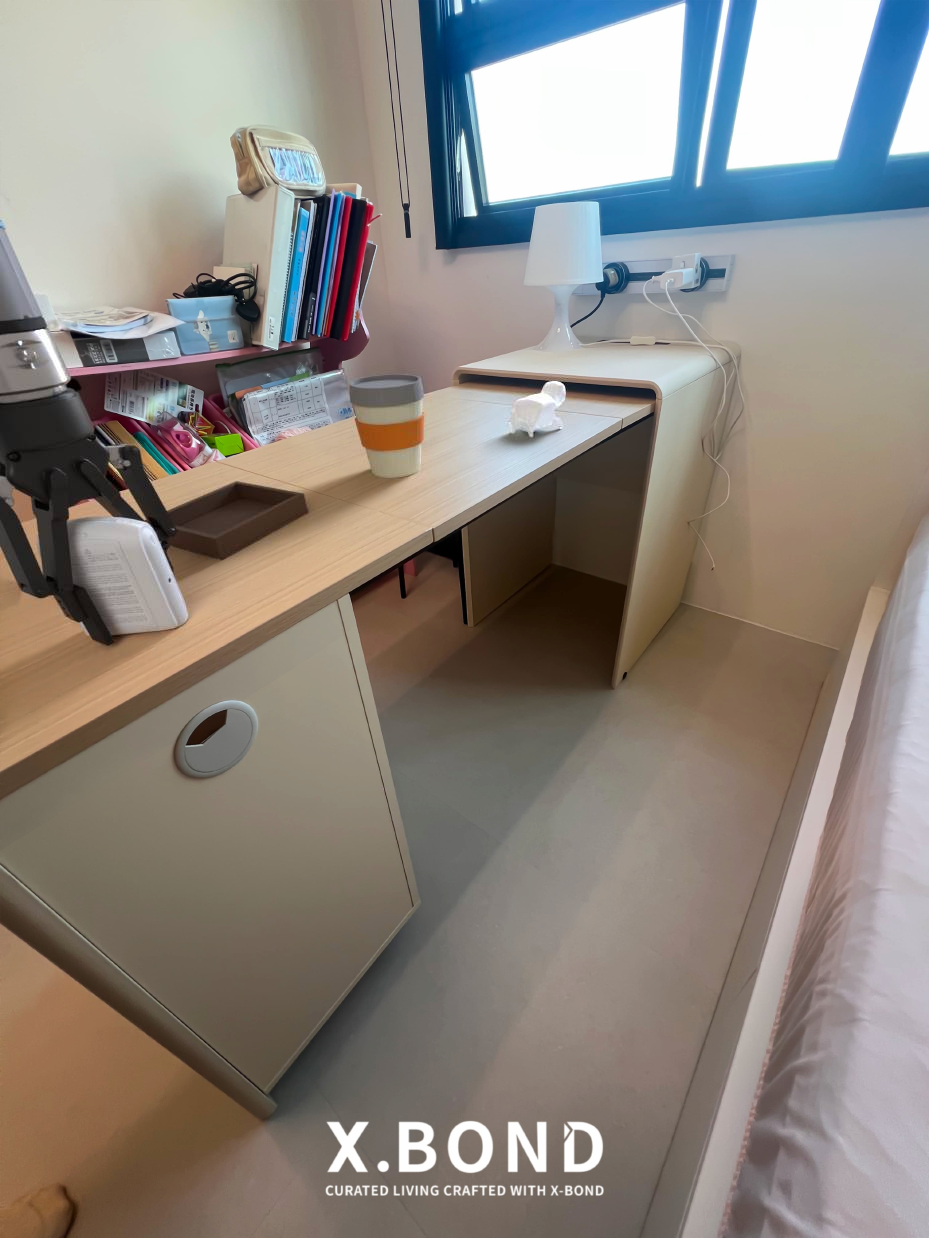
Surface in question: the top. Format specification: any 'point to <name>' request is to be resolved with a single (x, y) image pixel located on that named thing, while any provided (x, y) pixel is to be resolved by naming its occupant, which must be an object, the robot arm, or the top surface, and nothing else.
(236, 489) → the tray
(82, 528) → the photo printer
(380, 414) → the reusable coffee cup
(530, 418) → the white animal figurine
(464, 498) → the top surface
